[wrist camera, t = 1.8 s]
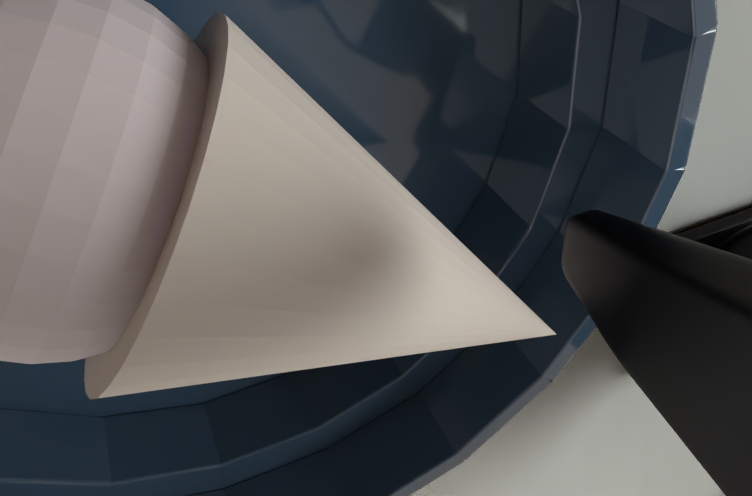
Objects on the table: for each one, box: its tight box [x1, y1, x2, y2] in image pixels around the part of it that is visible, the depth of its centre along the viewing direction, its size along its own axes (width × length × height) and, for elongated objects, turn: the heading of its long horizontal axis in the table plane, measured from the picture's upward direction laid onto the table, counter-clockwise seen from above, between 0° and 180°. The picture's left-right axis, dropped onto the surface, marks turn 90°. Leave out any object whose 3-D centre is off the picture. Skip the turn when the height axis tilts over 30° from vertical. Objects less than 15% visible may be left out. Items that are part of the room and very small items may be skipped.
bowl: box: [0, 0, 718, 496], centre depth 12 cm, size 18×18×4 cm
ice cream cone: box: [0, 0, 556, 399], centre depth 12 cm, size 6×6×15 cm
